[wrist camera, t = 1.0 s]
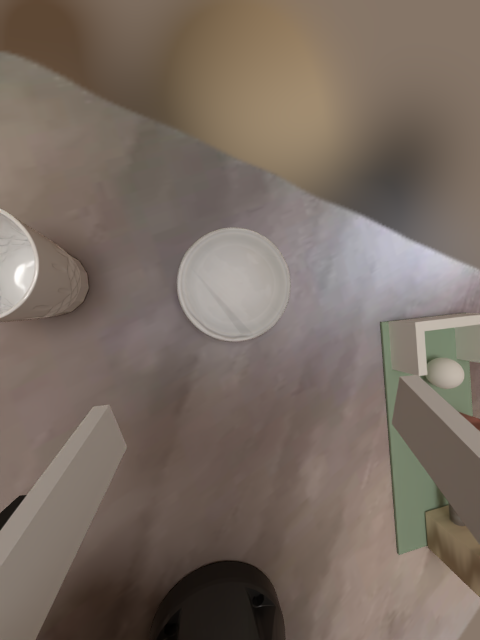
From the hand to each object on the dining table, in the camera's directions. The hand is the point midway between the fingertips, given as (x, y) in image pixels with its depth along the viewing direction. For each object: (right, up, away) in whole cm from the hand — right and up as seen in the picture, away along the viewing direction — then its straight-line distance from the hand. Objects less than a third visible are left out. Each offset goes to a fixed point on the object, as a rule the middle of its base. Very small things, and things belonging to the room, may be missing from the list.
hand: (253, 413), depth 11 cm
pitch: (+26, -11, +23) cm, 37 cm away
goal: (+25, +2, +23) cm, 34 cm away
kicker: (+27, -18, +23) cm, 40 cm away
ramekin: (-2, +8, +18) cm, 19 cm away
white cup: (-20, +8, +14) cm, 25 cm away
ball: (+26, -3, +21) cm, 33 cm away
